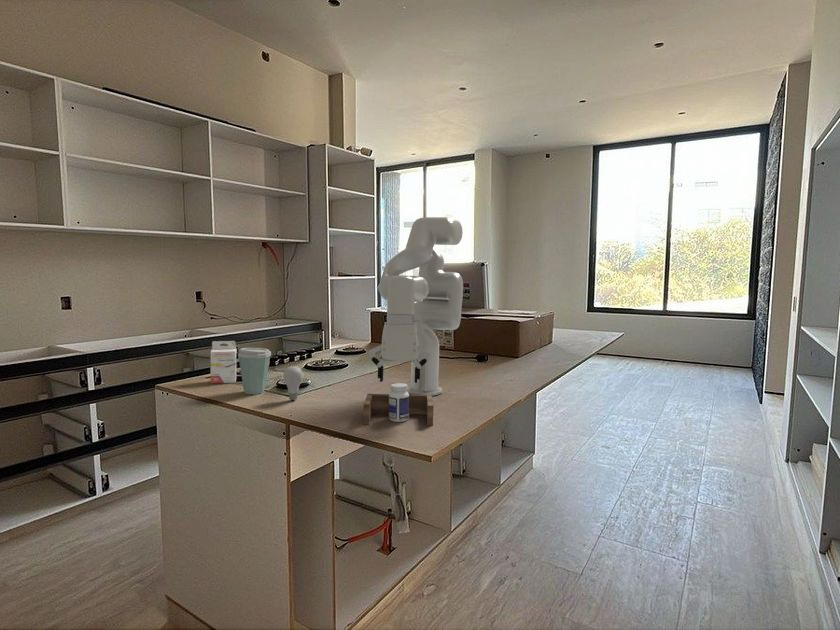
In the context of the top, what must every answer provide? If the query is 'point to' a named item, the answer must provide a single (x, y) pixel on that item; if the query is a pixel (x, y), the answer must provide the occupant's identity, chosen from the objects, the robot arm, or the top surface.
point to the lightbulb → (293, 380)
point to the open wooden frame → (381, 406)
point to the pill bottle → (399, 403)
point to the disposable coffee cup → (254, 369)
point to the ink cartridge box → (223, 362)
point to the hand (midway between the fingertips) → (398, 381)
